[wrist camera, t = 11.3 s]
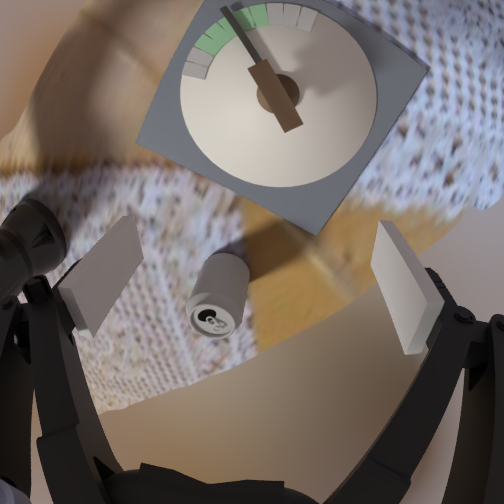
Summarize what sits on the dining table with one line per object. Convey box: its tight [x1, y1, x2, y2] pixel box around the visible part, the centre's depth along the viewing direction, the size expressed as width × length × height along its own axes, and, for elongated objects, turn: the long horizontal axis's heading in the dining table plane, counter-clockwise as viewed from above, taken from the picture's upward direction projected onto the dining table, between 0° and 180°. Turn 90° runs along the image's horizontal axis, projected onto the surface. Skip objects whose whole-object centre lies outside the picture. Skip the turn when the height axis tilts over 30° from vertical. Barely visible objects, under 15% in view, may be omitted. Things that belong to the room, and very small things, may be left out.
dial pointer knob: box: [220, 5, 303, 133], centre depth 25 cm, size 5×16×11 cm, turn 29°
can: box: [186, 253, 250, 339], centre depth 42 cm, size 8×8×12 cm
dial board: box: [136, 0, 427, 236], centre depth 33 cm, size 28×28×2 cm
